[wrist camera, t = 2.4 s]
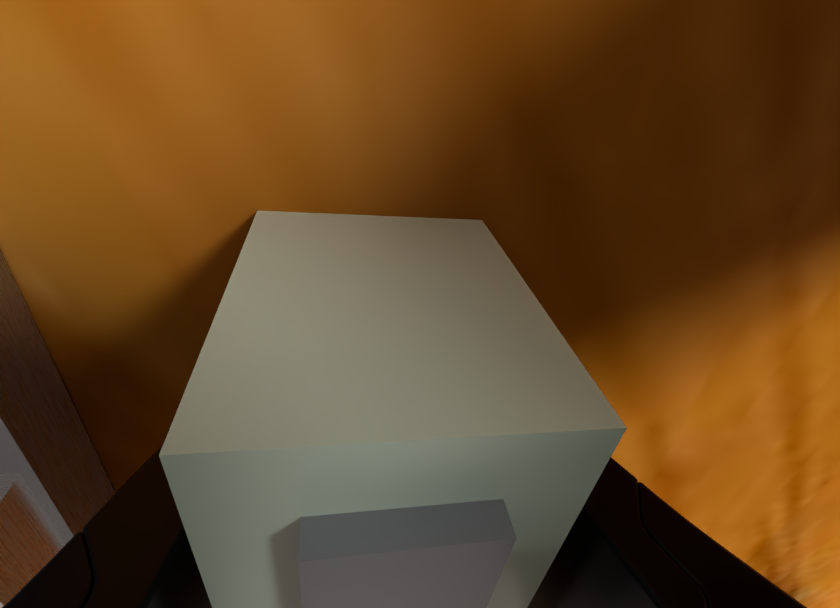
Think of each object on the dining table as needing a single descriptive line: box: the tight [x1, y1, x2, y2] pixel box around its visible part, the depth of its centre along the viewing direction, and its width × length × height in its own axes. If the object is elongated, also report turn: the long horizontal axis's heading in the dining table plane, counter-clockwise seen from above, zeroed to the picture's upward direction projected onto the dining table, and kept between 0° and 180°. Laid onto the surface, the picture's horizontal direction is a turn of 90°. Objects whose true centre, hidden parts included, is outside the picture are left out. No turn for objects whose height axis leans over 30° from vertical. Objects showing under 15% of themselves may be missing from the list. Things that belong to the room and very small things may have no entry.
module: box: [159, 211, 627, 608], centre depth 7 cm, size 4×6×5 cm, turn 174°
